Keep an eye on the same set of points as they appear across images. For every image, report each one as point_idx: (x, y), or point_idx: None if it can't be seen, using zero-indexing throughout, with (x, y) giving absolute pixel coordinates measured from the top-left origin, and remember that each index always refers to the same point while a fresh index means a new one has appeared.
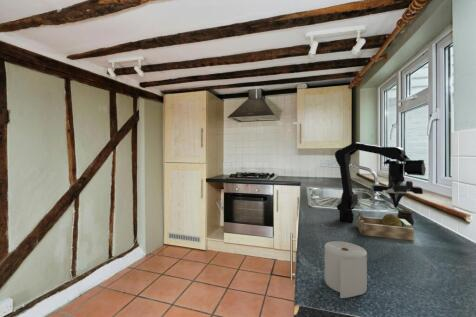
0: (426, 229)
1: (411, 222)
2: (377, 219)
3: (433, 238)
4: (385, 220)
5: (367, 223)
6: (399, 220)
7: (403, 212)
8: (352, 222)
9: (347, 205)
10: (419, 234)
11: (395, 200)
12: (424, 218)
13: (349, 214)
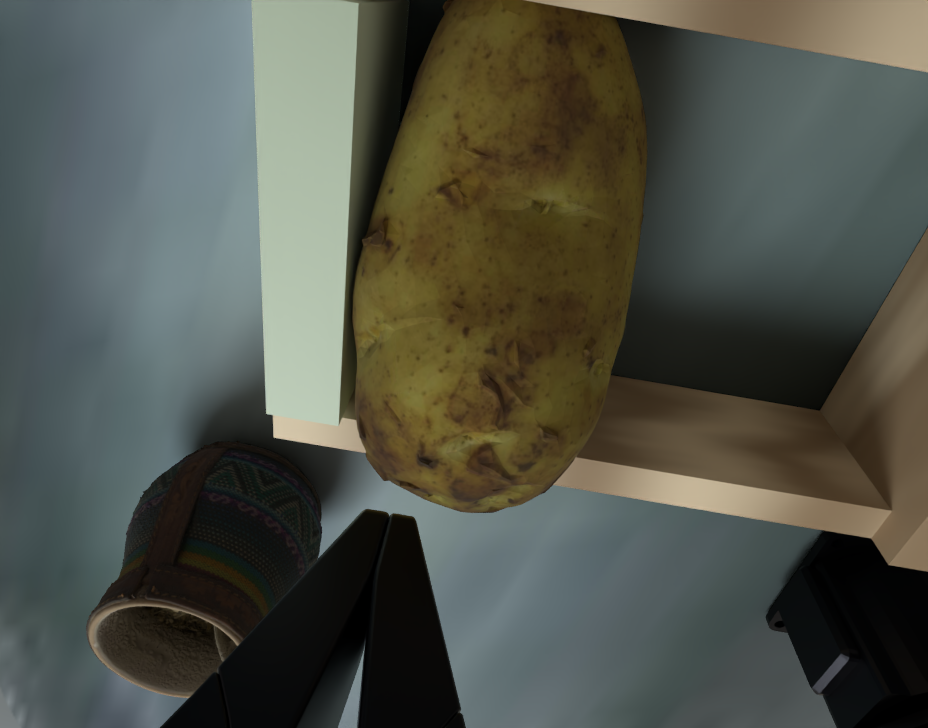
0: (61, 435)
1: (172, 477)
2: (637, 458)
3: (40, 112)
4: (608, 327)
5: (750, 430)
6: (397, 261)
7: (202, 609)
8: (828, 532)
9: None
10: (173, 246)
11: (361, 707)
12: (28, 697)
13: (903, 637)
